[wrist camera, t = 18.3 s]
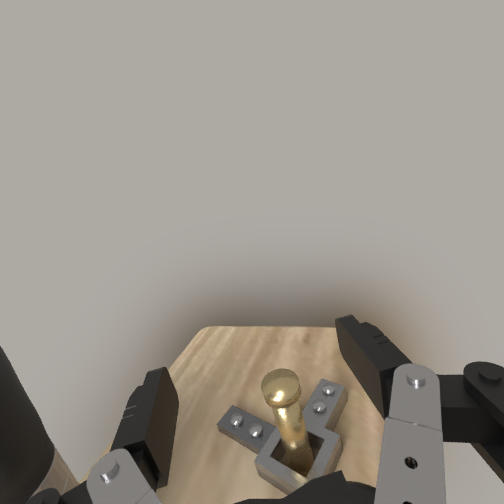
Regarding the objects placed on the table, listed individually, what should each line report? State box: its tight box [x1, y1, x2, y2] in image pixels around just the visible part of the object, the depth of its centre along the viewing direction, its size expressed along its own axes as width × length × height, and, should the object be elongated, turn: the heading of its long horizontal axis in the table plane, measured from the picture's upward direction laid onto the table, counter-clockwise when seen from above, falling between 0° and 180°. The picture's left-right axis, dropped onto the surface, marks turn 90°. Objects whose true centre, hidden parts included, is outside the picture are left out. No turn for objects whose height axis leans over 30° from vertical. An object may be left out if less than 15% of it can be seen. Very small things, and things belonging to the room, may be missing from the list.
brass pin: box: [261, 369, 314, 477], centre depth 36 cm, size 5×5×14 cm
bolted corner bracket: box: [217, 379, 347, 495], centre depth 44 cm, size 18×16×4 cm
